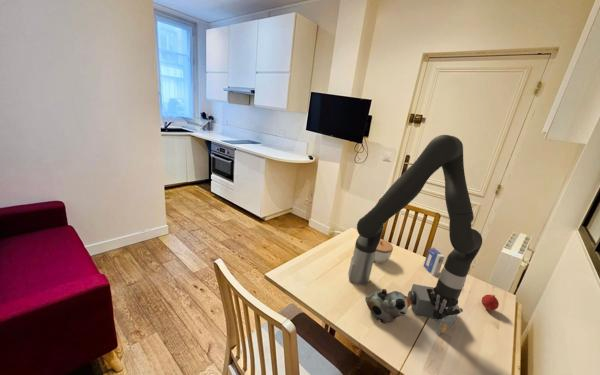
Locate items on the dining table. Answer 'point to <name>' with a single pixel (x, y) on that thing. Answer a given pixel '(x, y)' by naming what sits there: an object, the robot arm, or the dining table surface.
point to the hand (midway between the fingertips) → (436, 318)
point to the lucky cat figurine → (388, 305)
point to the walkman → (433, 261)
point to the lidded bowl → (383, 251)
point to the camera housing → (422, 302)
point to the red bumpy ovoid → (490, 302)
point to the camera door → (446, 323)
